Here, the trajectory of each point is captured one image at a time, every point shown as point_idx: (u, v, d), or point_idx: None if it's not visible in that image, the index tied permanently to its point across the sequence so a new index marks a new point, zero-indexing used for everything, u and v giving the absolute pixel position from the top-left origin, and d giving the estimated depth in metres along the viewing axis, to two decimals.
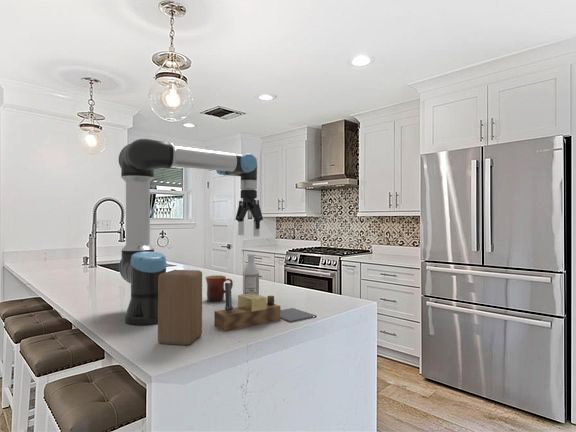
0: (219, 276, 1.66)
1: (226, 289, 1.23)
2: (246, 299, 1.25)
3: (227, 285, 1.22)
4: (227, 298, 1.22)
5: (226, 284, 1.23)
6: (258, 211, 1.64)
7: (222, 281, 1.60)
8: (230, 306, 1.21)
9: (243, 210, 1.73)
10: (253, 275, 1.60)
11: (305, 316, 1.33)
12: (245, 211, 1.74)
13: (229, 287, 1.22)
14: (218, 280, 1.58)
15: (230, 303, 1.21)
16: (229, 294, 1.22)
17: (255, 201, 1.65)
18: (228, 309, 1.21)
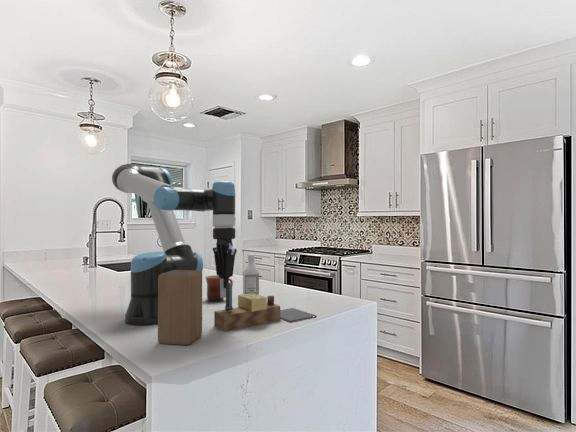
0: None
1: (227, 289, 1.22)
2: (246, 299, 1.25)
3: (228, 285, 1.21)
4: (227, 298, 1.22)
5: (227, 284, 1.22)
6: (230, 265, 1.22)
7: None
8: (230, 306, 1.21)
9: None
10: (253, 275, 1.60)
11: (305, 316, 1.33)
12: None
13: (230, 288, 1.21)
14: (218, 280, 1.58)
15: (230, 303, 1.21)
16: (230, 295, 1.21)
17: (231, 252, 1.20)
18: (228, 309, 1.21)
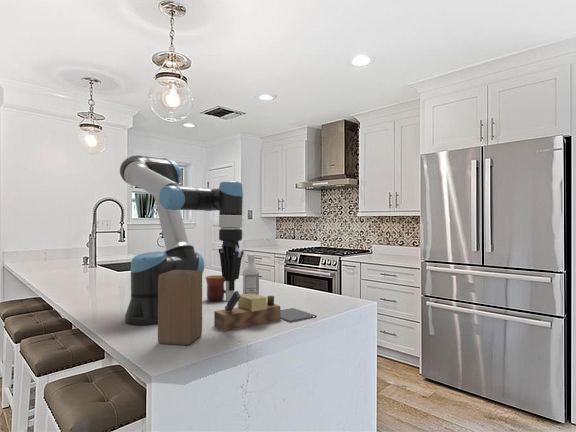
0: (219, 276, 1.66)
1: (233, 297, 1.19)
2: (246, 299, 1.25)
3: (236, 297, 1.17)
4: (231, 303, 1.20)
5: (235, 294, 1.17)
6: (236, 268, 1.18)
7: (222, 281, 1.60)
8: (230, 310, 1.21)
9: None
10: (253, 275, 1.60)
11: (305, 316, 1.33)
12: None
13: (237, 299, 1.18)
14: (218, 280, 1.58)
15: (231, 308, 1.21)
16: (234, 303, 1.19)
17: (237, 255, 1.17)
18: (227, 310, 1.22)
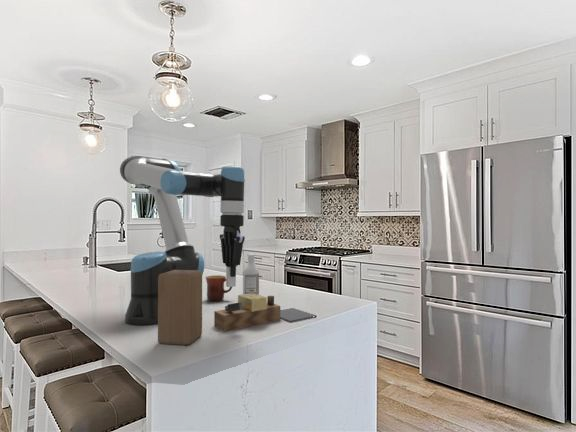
0: (219, 276, 1.66)
1: (236, 306, 1.17)
2: (246, 299, 1.25)
3: (238, 308, 1.16)
4: (232, 308, 1.19)
5: (238, 306, 1.16)
6: (237, 254, 1.17)
7: (222, 281, 1.60)
8: (230, 311, 1.21)
9: (228, 244, 1.21)
10: (253, 275, 1.60)
11: (305, 316, 1.33)
12: None
13: None
14: (218, 280, 1.58)
15: (231, 311, 1.21)
16: (235, 310, 1.18)
17: (239, 240, 1.16)
18: (227, 310, 1.22)
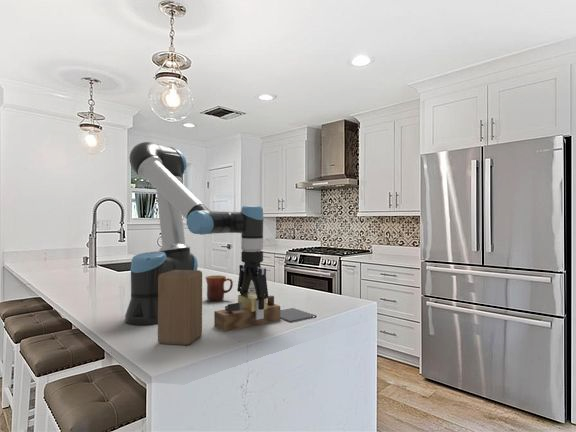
0: (219, 276, 1.66)
1: (236, 306, 1.17)
2: (246, 299, 1.25)
3: (238, 308, 1.16)
4: (232, 308, 1.19)
5: (238, 306, 1.16)
6: (263, 286, 1.22)
7: (222, 281, 1.60)
8: (230, 311, 1.21)
9: (246, 278, 1.29)
10: None
11: (305, 316, 1.33)
12: (249, 279, 1.30)
13: (238, 310, 1.17)
14: (218, 280, 1.58)
15: (231, 311, 1.21)
16: (235, 310, 1.18)
17: (261, 271, 1.22)
18: (227, 310, 1.22)
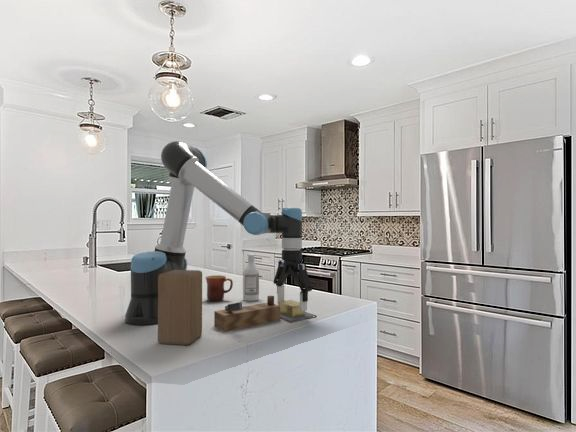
0: (219, 276, 1.66)
1: (236, 306, 1.17)
2: (287, 306, 1.34)
3: (238, 308, 1.16)
4: (232, 308, 1.19)
5: (238, 306, 1.16)
6: (306, 279, 1.30)
7: (222, 281, 1.60)
8: (230, 311, 1.21)
9: (285, 274, 1.39)
10: (253, 275, 1.60)
11: (305, 316, 1.33)
12: (286, 274, 1.40)
13: (238, 310, 1.17)
14: (218, 280, 1.58)
15: (231, 311, 1.21)
16: (235, 310, 1.18)
17: (302, 266, 1.31)
18: (227, 310, 1.22)
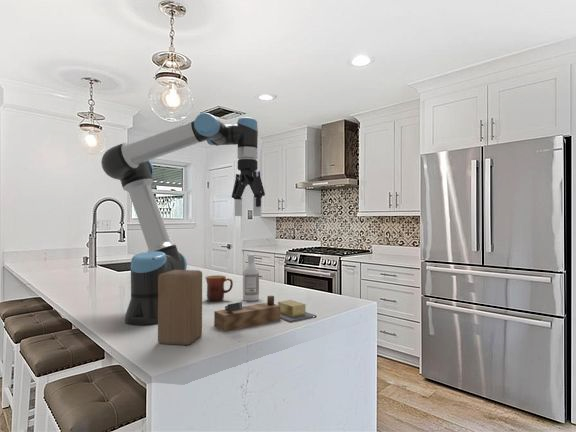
0: (219, 276, 1.66)
1: (236, 306, 1.17)
2: (287, 306, 1.34)
3: (238, 308, 1.16)
4: (232, 308, 1.19)
5: (238, 306, 1.16)
6: (259, 185, 1.33)
7: (222, 281, 1.60)
8: (230, 311, 1.21)
9: (241, 185, 1.42)
10: (253, 275, 1.60)
11: (305, 316, 1.33)
12: (243, 186, 1.42)
13: (238, 310, 1.17)
14: (218, 280, 1.58)
15: (231, 311, 1.21)
16: (235, 310, 1.18)
17: (255, 172, 1.34)
18: (227, 310, 1.22)
